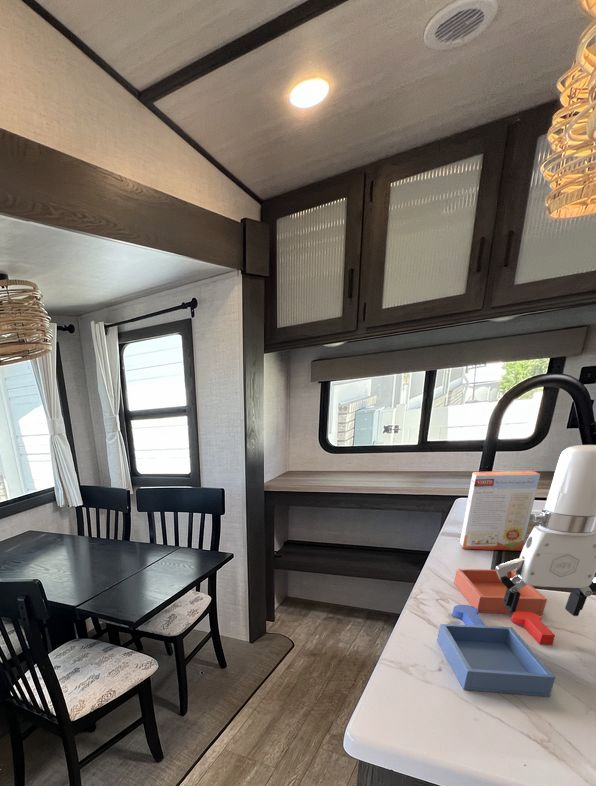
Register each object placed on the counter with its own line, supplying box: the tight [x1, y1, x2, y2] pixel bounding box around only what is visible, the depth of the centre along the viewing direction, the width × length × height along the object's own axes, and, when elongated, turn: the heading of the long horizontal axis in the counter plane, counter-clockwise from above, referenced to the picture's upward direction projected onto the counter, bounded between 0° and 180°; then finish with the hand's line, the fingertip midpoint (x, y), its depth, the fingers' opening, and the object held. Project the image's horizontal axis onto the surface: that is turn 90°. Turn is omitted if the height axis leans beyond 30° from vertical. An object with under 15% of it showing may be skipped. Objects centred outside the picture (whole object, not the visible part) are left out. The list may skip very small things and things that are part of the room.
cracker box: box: [459, 470, 541, 552], centre depth 128 cm, size 14×6×21 cm, turn 65°
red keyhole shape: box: [511, 611, 556, 646], centre depth 90 cm, size 11×4×2 cm, turn 163°
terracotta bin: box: [453, 568, 548, 616], centre depth 103 cm, size 12×17×4 cm
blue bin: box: [436, 623, 556, 698], centre depth 80 cm, size 12×17×4 cm
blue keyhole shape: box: [451, 604, 487, 626], centre depth 95 cm, size 11×4×2 cm, turn 163°
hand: (539, 611), depth 87 cm, fingers open, 9 cm apart
